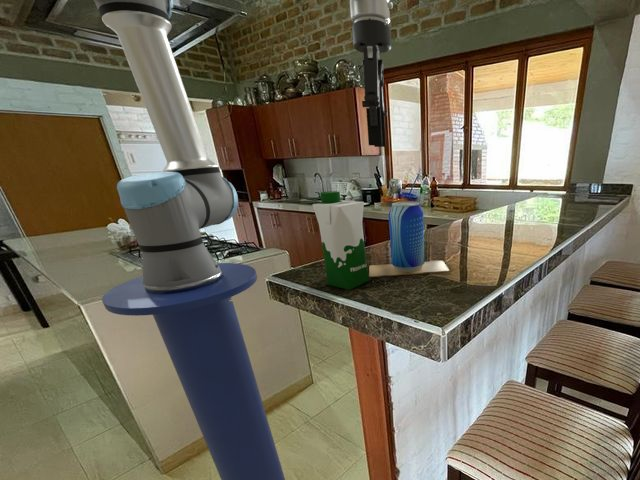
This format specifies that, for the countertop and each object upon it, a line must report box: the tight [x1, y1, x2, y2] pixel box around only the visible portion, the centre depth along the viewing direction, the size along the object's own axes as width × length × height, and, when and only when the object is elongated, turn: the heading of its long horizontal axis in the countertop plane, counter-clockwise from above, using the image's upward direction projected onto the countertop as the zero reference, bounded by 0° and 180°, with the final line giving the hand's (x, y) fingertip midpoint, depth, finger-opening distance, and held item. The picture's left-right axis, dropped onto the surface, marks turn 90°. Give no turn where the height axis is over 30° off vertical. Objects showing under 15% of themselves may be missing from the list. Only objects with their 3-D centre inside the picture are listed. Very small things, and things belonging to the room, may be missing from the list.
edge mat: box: [368, 260, 450, 278], centre depth 87 cm, size 20×9×1 cm, turn 98°
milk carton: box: [312, 190, 370, 290], centre depth 74 cm, size 9×9×20 cm
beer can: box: [388, 201, 425, 272], centre depth 83 cm, size 8×8×16 cm
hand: (378, 146), depth 74 cm, fingers open, 13 cm apart
